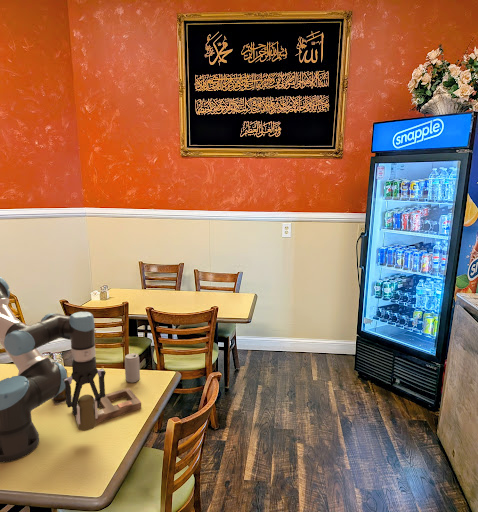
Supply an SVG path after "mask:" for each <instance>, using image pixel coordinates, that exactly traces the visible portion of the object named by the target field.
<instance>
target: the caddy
mask: <svg viewBox="0 0 478 512" xmlns="http://www.w3.org/2000/svg"><path fill="white" fill-rule="evenodd" d="M125 397H126V399H127V400H126V401H124V402H120V403H117V404H114V405H113V403H112V402H113V401H116V400H118V399H122V398H125ZM100 407H101V409H100V408H99V409H97V413H98V418H97V419H96V424H98V423H101V422H104V421H107V420H110V419H113V418H116V417H119V416H123V415H124V414H127V413H130V412H134V411H136V410H139V409H142V401H141V400H140V399H139V398H138V397H137V396H136V395H135V393H134V392H133V391H132V389H131V388H130V387H126V388H124V389H120V390H116V391H113V392H110V393H105V397H102V398H101V401H100ZM75 417H76V415H75Z"/></svg>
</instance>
